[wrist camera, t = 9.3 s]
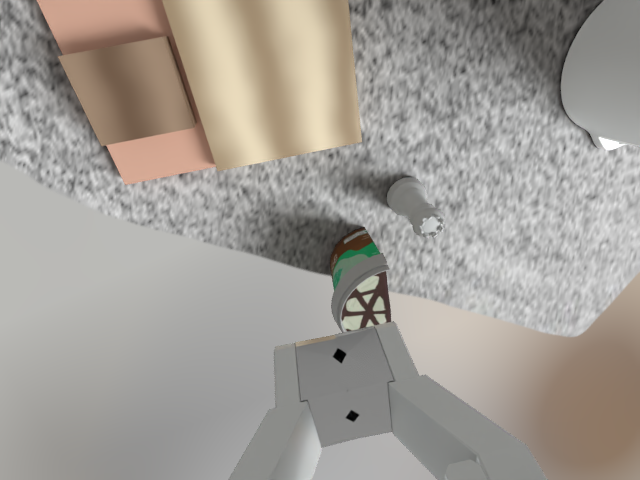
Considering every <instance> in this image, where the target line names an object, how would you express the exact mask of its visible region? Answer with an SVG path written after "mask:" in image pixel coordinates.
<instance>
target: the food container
mask: <svg viewBox="0 0 640 480" xmlns="http://www.w3.org/2000/svg"><path fill="white" fill-rule="evenodd" d="M330 269H331V274H332V279H333V286H334V294H333V297H332V305H331V308H332V314H333V317H334V320H335V321H336V323H337V325H338V326H339V328H340V330H341V331H342V333H343V332H348V331H352V330H356V329H361V328H365V327H370V326H375V325H379V324H384V323H388V322H391V310H390V302H389V295H388V285H387V276H386V271H387V270H390V269H389V267H388V265H387V261H386V259H385V257H384V255H383V253H381V254H380V252H379V250H378V249H377V247H376V245H375V244H374V242H373V240H372V239H371V237H370V235H369V234H368V232H367V231H366V229H365V227H363V228H360V229H357V230H354V231H353V232H351V233H349V234H348V235H346V236H344V237H343V238H342V239H341V240H340V241H339V242H338V243H337V244H336V246H335V248H334V250H333V252H332V254H331V258H330Z"/></svg>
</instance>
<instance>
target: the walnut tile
mask: <svg viewBox="0 0 640 480" xmlns="http://www.w3.org/2000/svg"><path fill="white" fill-rule="evenodd" d="M58 58H59V60H60V62H61V64H62V66H63V68H64V70H65V72H66V75H67V77H68V79H69V81H70V83H71V85H72V87H73V89H74V91H75V93H76V95H77V97H78V99H79V101H80V103H81V105H82V107H83V109H84V111H85V113H86V116H87V118H88V120H89V122H90V124H91V126H92V128H93V130H94V132H95V134H96V136H97V138H98V140H99V142H100V144H101V146H105V145H110V144H115V143H120V142H125V141H130V140H135V139H140V138H145V137H150V136H155V135H160V134H166V133H171V132H176V131H181V130H186V129H191V128H194V127H195V125H196V123H197V121H196V118H195V115H194V112H193V109H192V106H191V103H190V100H189V97H188V94H187V91H186V88H185V85H184V82H183V79H182V76H181V73H180V70H179V67H178V64H177V61H176V58H175V55H174V52H173V49H172V46H171V43H170V40H169V37H168V36H165V37H159V38H154V39H148V40H143V41H138V42H132V43H127V44H122V45H116V46H111V47H106V48H100V49H95V50H89V51H84V52H79V53H73V54H68V55H63V56H58Z"/></svg>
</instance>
